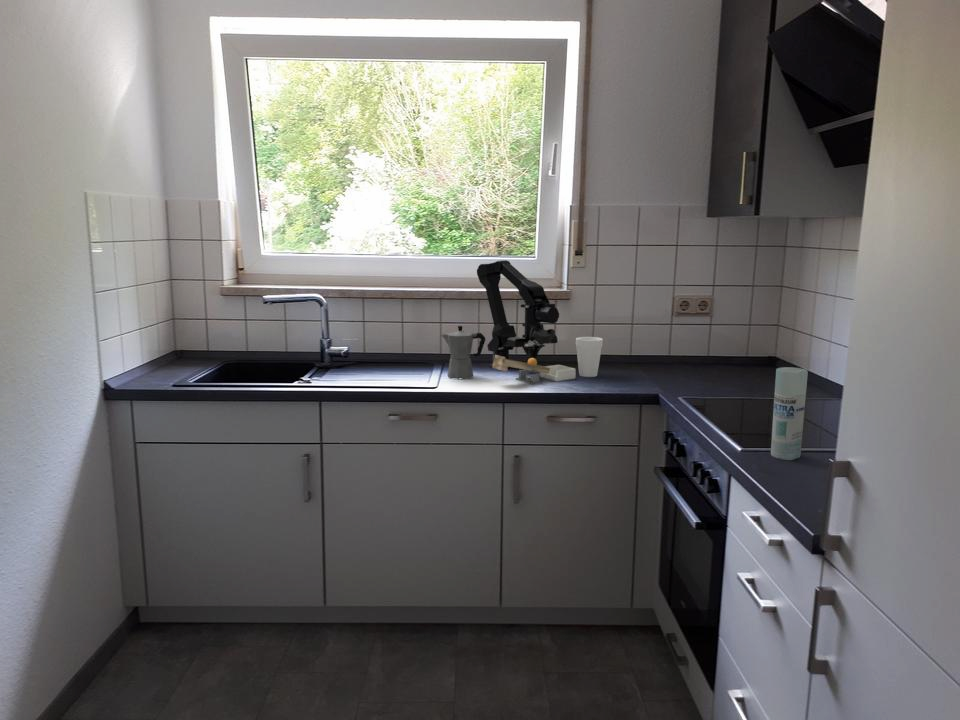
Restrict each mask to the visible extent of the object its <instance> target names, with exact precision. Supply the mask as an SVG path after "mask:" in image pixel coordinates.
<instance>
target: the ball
mask: <svg viewBox="0 0 960 720" xmlns="http://www.w3.org/2000/svg"><path fill="white" fill-rule="evenodd" d="M527 363H528V364H532V365H538V361H537V358H536V359H535V358H530V359H528V360H527Z"/></svg>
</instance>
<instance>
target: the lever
mask: <svg viewBox="0 0 960 720" xmlns="http://www.w3.org/2000/svg"><path fill="white" fill-rule="evenodd" d="M505 358H506V357H502V356H499V355H495V358H494V363H493V362H492V364H493V366H491V368H492V369H495V370H498V371H499V370H500V371H504V372H507V371H508V370H509V369H508V368H515V369H519V370H526V372H527V371H528V372H531V373H533V374H534V373H540V372H542V373H548V374H549V370H550V368H548V367H544V366H543V365H540V364H537V365H532V364H528V362H522V361H518V360H513V359H509V360H508V359H505Z"/></svg>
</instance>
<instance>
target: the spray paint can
mask: <svg viewBox="0 0 960 720" xmlns="http://www.w3.org/2000/svg"><path fill="white" fill-rule="evenodd" d="M808 372H809V371H808V370H807V369H806V368H800V367H792V366H791V367H789V366H788V367H787V366H785V367H784V366H783V367H782V366H781V367H777V368H776V370H775V383H774V396H773V397H774V398H773V410H772V411H773V413H772V414H773V415H772V426H771V427H772V428H771V429H772V430H771V442H770V443H771V445H770V455H771V457H772V458H776V459H779V460H783V461H784V460H785V461H796V460H799V459H800V457H801V454H802V444H803V443H802V442H803V432H804V422H805V421H804V419H805V409H806V408H805V407H806V398H807V385H808V384H807V383H808V377H809V376H808V374H809V373H808Z"/></svg>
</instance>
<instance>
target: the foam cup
mask: <svg viewBox="0 0 960 720" xmlns="http://www.w3.org/2000/svg"><path fill="white" fill-rule="evenodd" d="M603 340H604V339H603V338H602V337H598V336H579V337H576V338H575V348H576V355H577V358H576V359H577V367H578V373H579V377H583V378H585V377H586V378H594V377H597V376H598V373H599V372H598V371H599V366H600V361H601V360H600V359H601V353H602V348H603Z"/></svg>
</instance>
